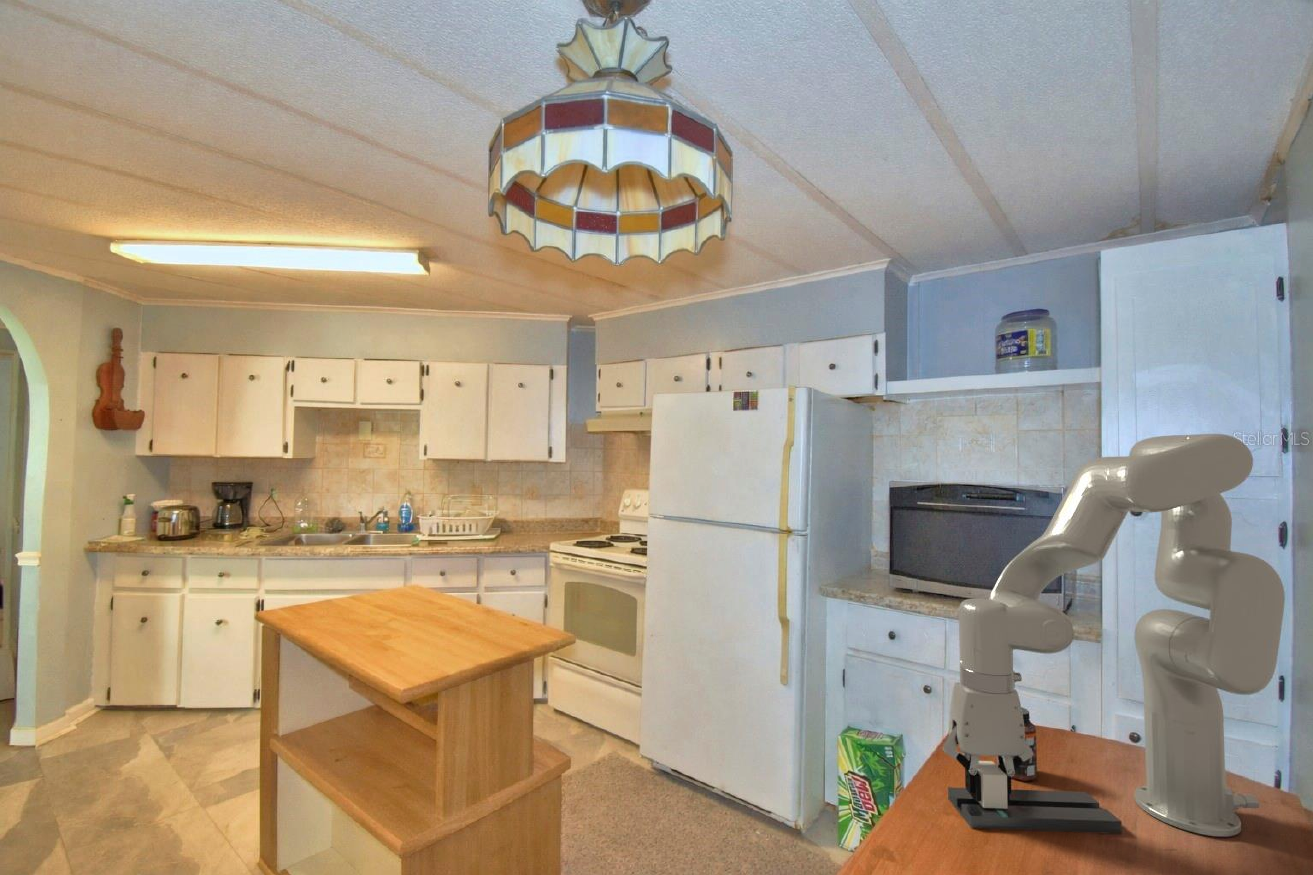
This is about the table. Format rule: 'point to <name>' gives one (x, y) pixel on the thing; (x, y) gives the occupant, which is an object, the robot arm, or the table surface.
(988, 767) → the fader tab
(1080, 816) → the fader housing
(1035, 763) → the supplement bottle
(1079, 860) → the table surface
